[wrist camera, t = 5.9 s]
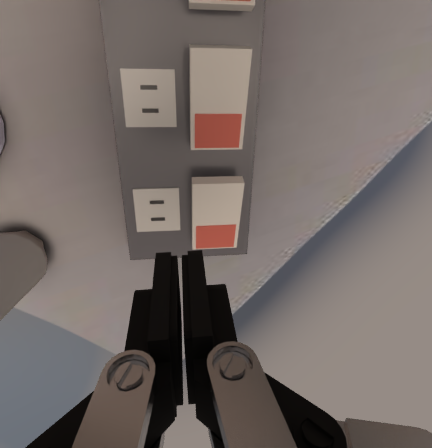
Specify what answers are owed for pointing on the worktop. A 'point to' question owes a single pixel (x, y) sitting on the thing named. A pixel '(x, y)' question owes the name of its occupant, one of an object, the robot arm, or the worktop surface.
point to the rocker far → (216, 211)
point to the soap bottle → (1, 134)
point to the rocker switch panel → (171, 116)
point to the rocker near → (222, 5)
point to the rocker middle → (218, 95)
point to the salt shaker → (19, 267)
